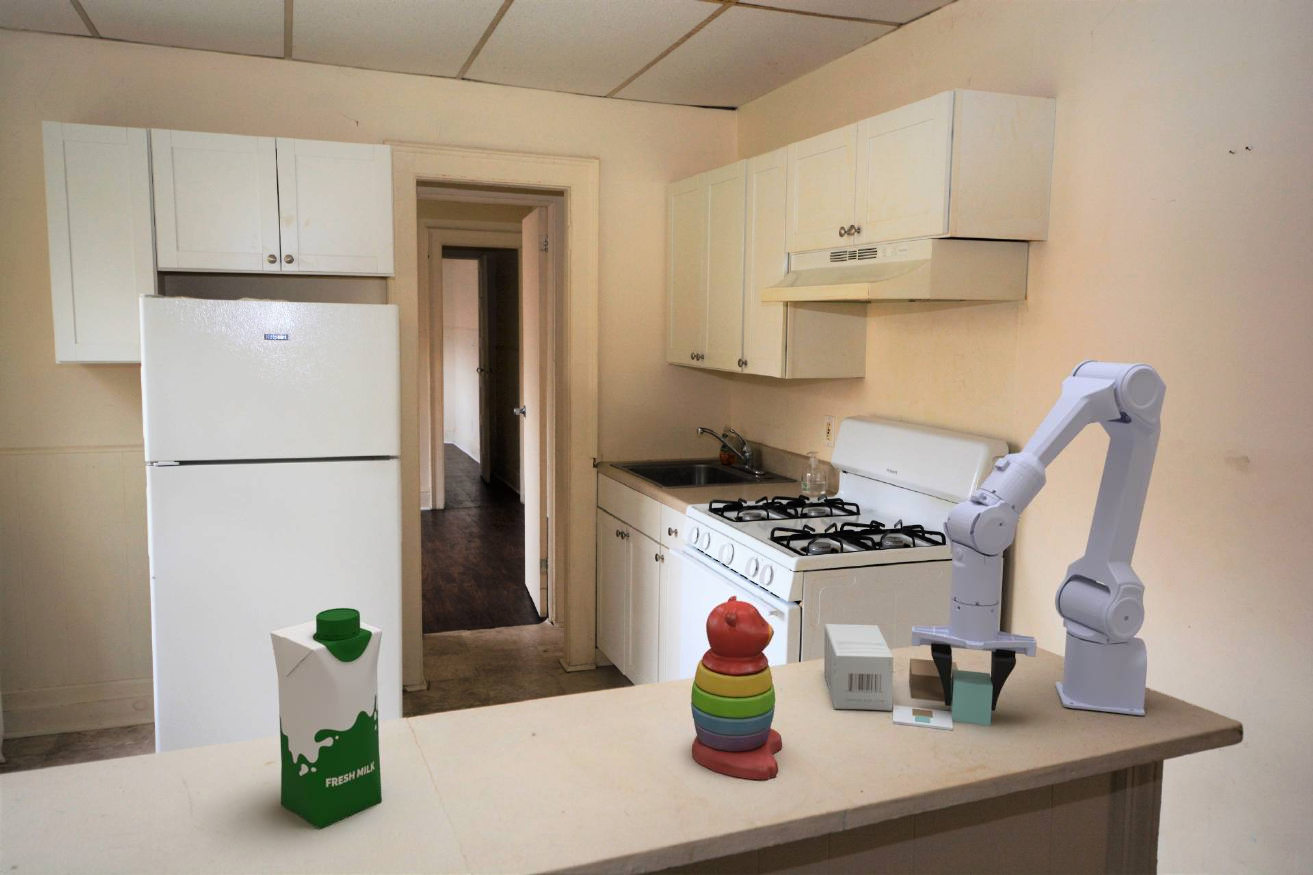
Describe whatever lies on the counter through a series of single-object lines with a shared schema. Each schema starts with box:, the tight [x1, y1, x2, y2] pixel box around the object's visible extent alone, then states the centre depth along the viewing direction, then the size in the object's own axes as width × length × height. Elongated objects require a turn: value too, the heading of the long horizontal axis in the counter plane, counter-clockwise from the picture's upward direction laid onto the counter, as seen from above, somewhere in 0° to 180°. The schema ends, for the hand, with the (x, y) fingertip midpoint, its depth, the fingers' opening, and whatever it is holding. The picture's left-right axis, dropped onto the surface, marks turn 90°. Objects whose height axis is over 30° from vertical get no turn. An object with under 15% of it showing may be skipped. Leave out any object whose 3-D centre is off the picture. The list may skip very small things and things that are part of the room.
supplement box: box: [823, 623, 894, 712], centre depth 125 cm, size 7×7×13 cm
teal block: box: [949, 669, 993, 727], centre depth 117 cm, size 4×4×5 cm
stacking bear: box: [690, 595, 783, 780], centre depth 105 cm, size 11×10×18 cm
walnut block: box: [908, 657, 959, 702], centre depth 125 cm, size 6×6×4 cm
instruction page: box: [892, 704, 954, 731], centre depth 117 cm, size 7×5×1 cm
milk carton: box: [269, 607, 383, 830], centre depth 93 cm, size 9×9×20 cm
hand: (969, 705), depth 118 cm, fingers open, 4 cm apart
